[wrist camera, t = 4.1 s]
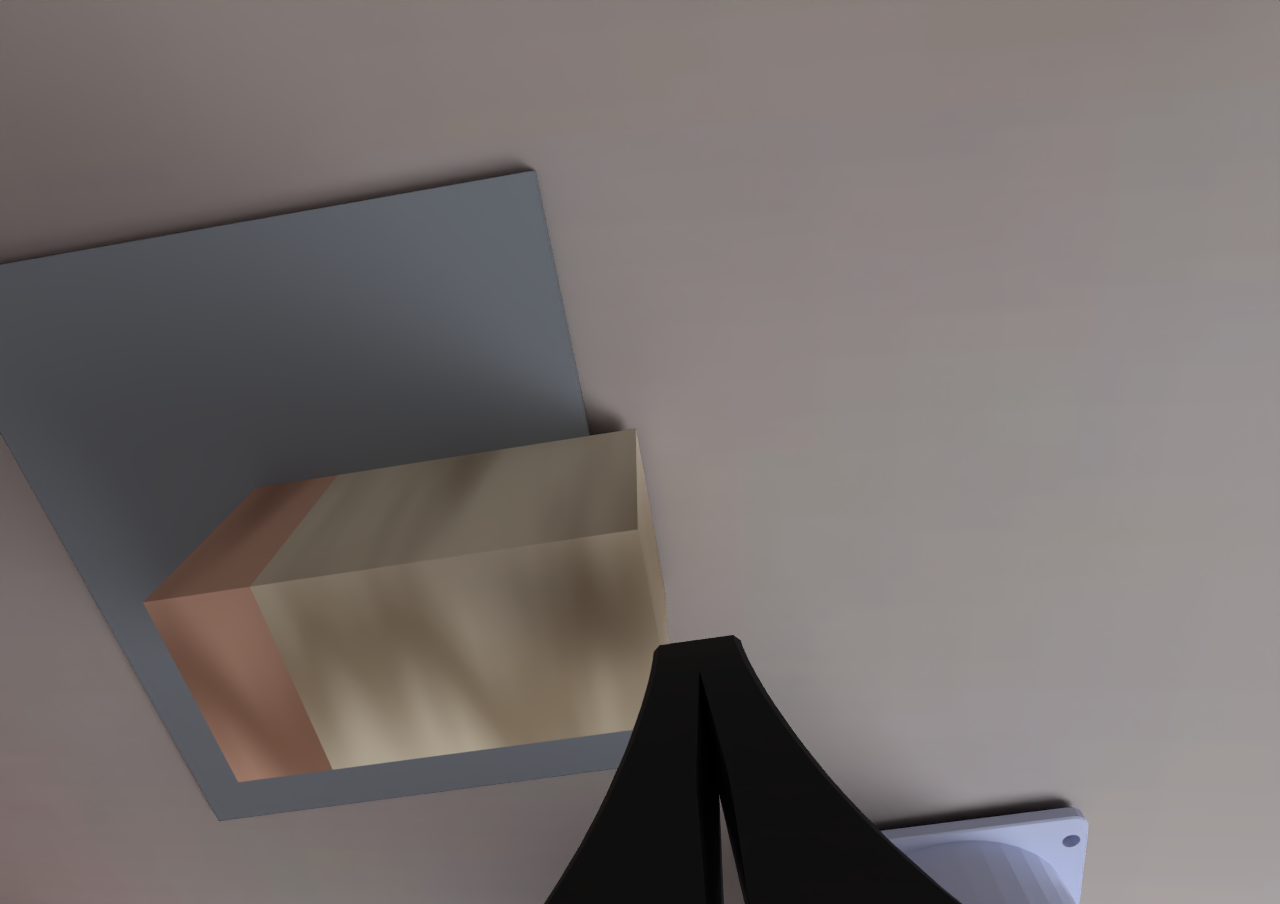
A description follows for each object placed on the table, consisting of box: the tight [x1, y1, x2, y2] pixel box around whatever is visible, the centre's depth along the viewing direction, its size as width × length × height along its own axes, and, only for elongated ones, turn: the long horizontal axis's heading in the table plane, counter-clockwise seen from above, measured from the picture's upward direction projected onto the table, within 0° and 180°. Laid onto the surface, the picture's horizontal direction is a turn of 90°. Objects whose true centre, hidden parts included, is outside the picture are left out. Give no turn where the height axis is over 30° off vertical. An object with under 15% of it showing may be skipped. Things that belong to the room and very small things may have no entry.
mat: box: [0, 170, 633, 821], centre depth 19 cm, size 16×13×1 cm
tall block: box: [143, 429, 669, 782], centre depth 16 cm, size 4×4×9 cm
